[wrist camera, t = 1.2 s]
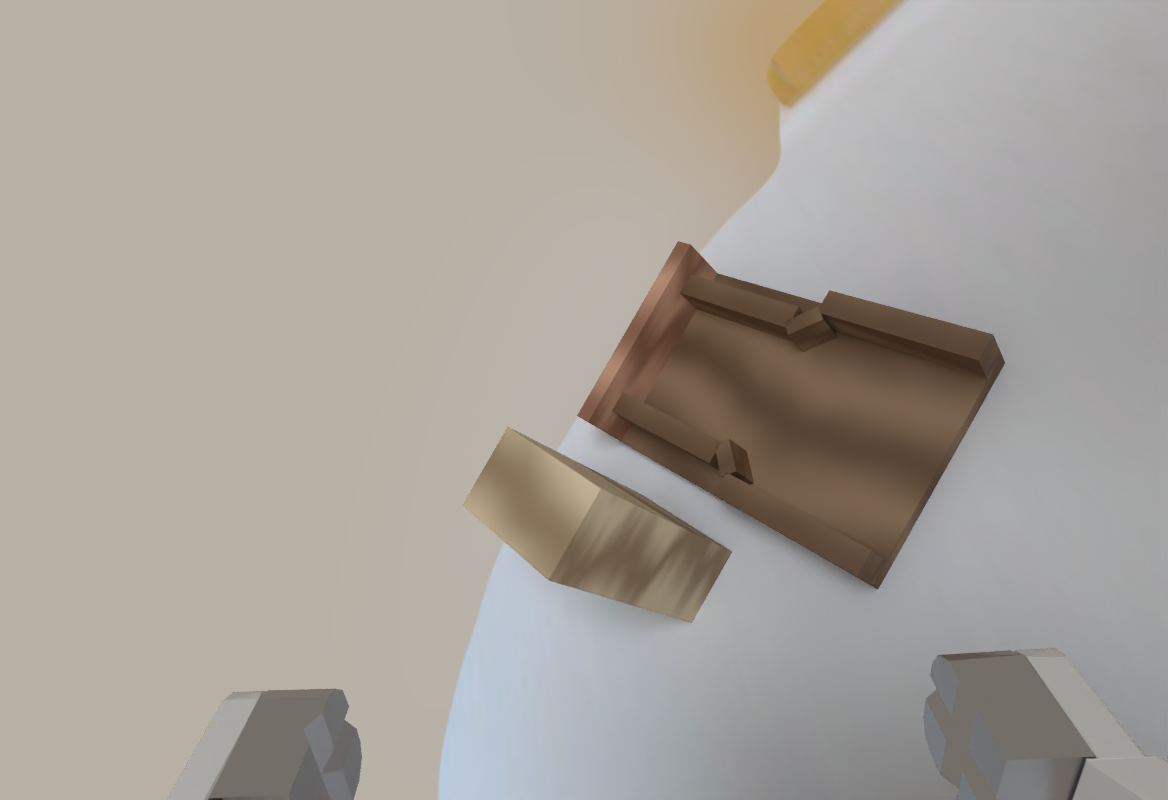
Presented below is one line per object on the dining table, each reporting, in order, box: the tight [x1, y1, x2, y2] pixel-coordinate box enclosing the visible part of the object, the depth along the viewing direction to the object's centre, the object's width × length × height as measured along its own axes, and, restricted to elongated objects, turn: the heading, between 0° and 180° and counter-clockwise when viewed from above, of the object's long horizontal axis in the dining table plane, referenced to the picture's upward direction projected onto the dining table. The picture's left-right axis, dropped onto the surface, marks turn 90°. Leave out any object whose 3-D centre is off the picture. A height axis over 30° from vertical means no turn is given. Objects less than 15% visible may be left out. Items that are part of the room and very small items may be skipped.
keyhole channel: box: [577, 242, 1005, 589], centre depth 44 cm, size 14×21×5 cm, turn 53°
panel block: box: [463, 427, 732, 623], centre depth 42 cm, size 5×8×14 cm, turn 53°
